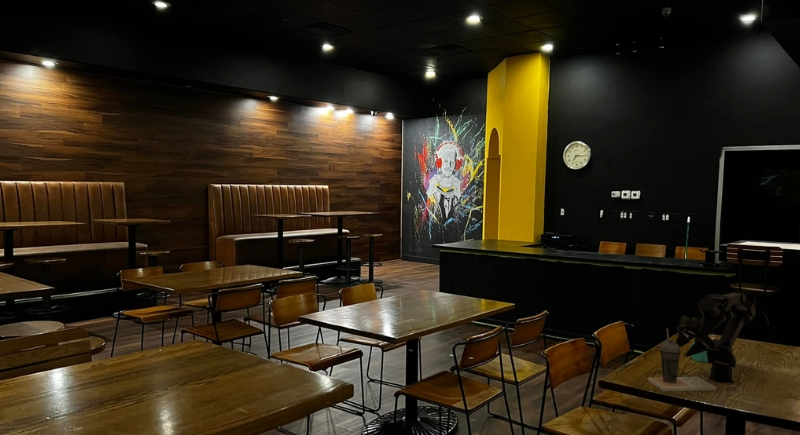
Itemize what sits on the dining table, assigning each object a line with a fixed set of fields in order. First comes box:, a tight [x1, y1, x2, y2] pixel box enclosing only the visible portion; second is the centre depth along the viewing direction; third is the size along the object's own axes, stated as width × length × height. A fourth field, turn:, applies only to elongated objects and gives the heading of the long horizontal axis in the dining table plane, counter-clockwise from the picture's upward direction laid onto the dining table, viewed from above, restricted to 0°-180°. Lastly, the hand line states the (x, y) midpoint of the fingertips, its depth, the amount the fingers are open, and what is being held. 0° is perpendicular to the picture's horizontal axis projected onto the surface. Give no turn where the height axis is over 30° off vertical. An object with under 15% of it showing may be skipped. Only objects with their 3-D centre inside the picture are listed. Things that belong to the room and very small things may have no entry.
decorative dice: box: [689, 341, 709, 364], centre depth 253 cm, size 8×8×8 cm
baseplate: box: [647, 376, 717, 392], centre depth 220 cm, size 20×12×2 cm, turn 93°
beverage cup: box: [659, 328, 681, 383], centre depth 219 cm, size 7×7×20 cm
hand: (679, 352), depth 219 cm, fingers open, 9 cm apart
